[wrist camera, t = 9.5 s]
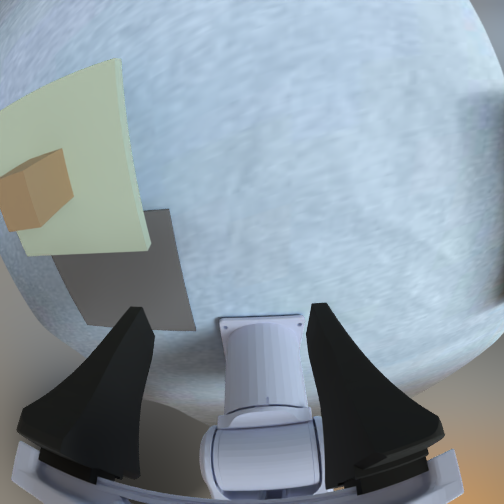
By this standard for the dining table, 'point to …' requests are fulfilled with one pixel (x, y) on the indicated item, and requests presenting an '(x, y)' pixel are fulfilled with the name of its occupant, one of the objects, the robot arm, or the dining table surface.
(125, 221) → the cover
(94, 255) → the mat
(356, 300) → the dining table surface
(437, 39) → the dining table surface
